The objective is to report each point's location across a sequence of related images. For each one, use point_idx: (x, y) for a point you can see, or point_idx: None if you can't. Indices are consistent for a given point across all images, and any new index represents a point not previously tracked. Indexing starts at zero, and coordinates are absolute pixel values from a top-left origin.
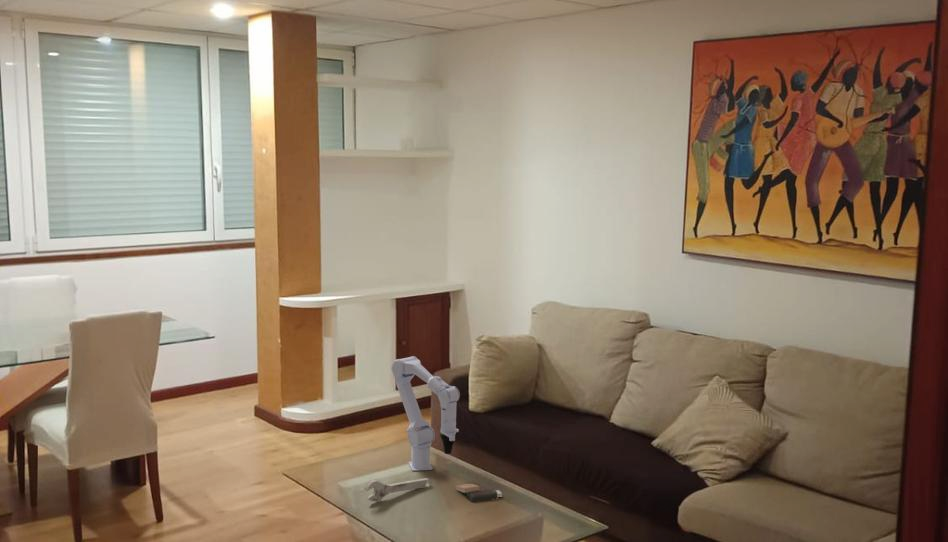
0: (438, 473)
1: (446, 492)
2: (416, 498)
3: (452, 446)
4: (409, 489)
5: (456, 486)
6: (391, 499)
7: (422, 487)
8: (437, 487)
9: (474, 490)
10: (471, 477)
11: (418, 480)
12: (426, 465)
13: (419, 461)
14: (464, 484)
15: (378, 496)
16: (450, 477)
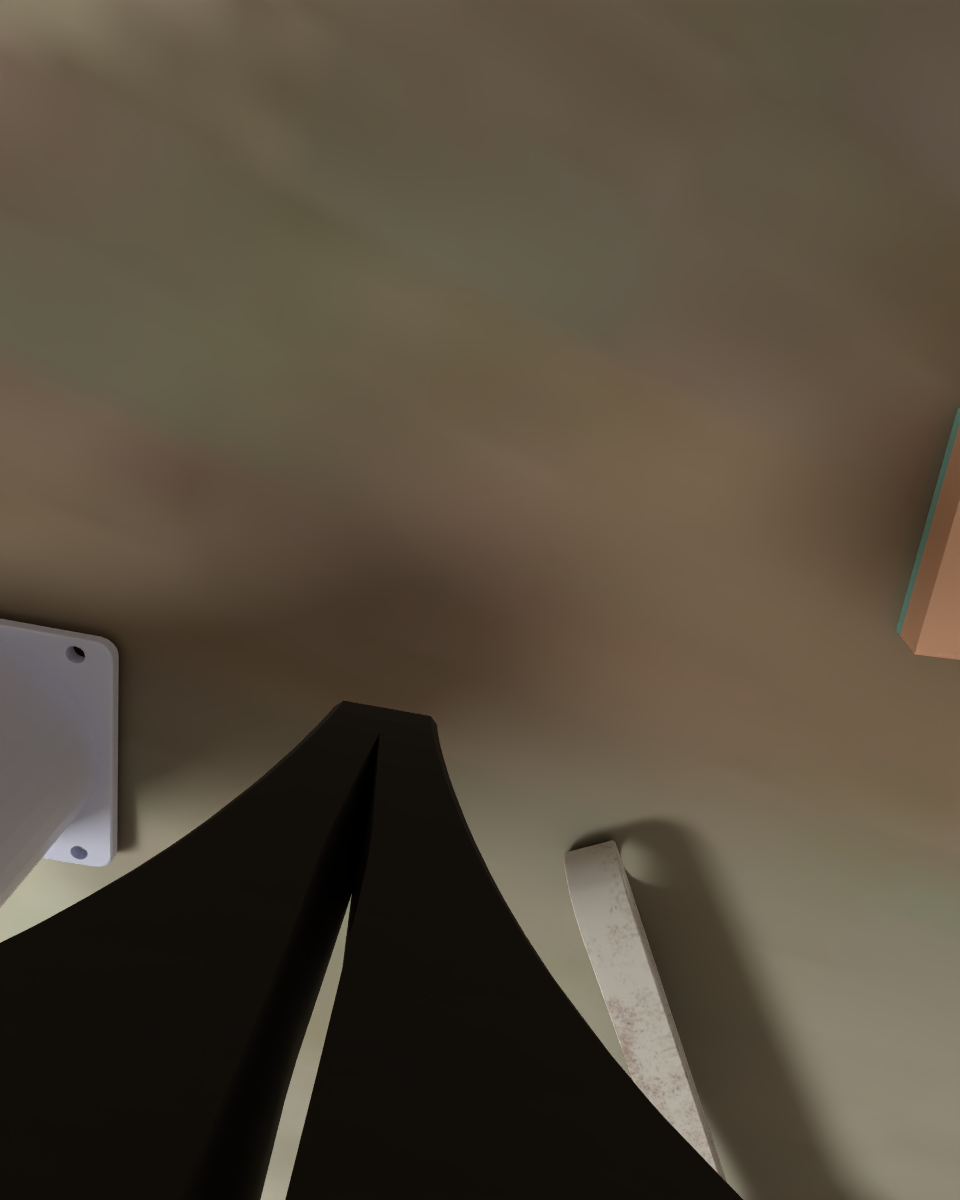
0: (260, 609)
1: (893, 757)
2: (850, 1038)
3: (471, 844)
4: (691, 1075)
5: (945, 655)
6: (749, 1182)
7: (643, 929)
8: (702, 789)
9: None
10: (587, 185)
11: (660, 1049)
12: (59, 736)
13: (28, 870)
14: (956, 521)
15: None
16: (458, 517)
